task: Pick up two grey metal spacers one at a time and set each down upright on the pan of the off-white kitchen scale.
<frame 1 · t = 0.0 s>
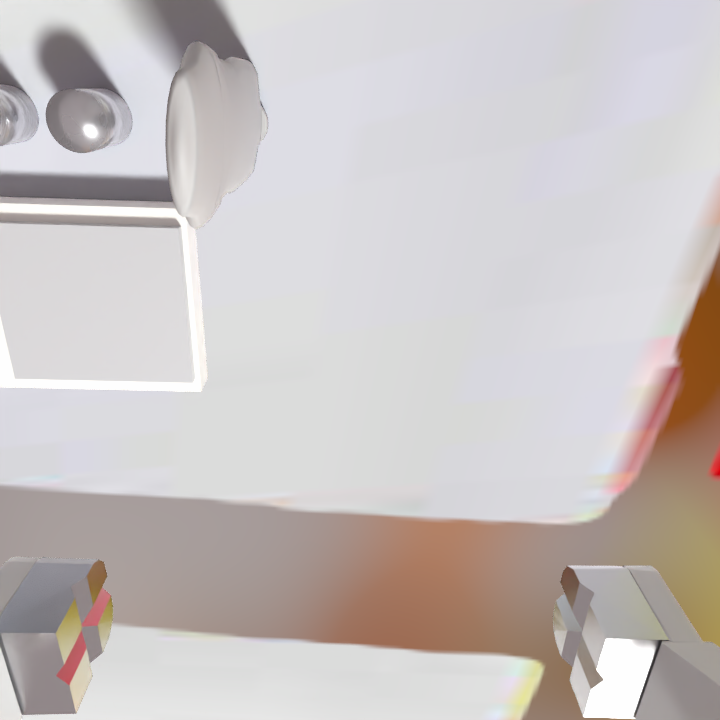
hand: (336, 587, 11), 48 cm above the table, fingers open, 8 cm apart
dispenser: (245, 122, 52), on the table
spacer b: (11, 114, 51), on the table
spacer a: (105, 117, 52), on the table
scale: (87, 293, 58), on the table
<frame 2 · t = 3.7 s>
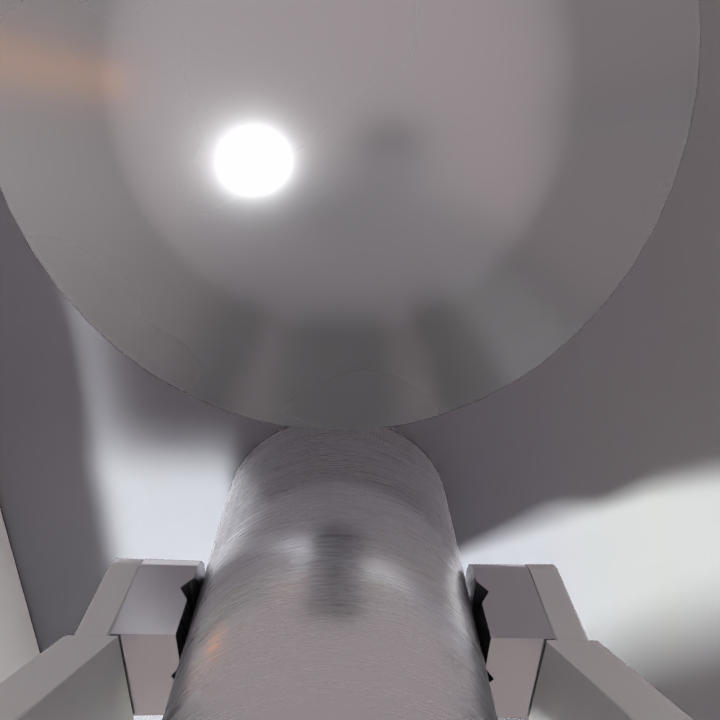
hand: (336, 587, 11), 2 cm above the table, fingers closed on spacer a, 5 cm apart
spacer b: (344, 100, 9), on the table
spacer a: (337, 511, 13), on the table, touching gripper
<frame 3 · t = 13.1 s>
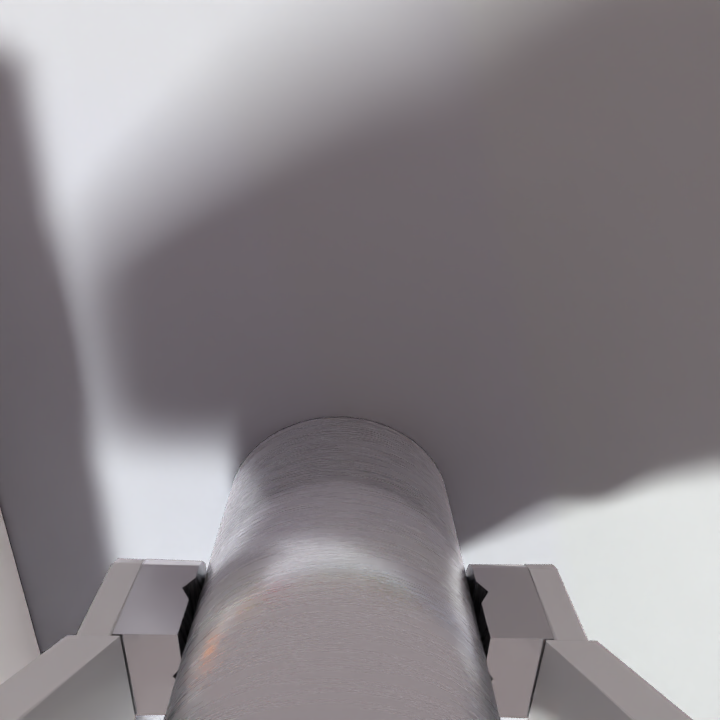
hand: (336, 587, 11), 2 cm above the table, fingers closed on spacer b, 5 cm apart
spacer b: (338, 511, 13), on the table, touching gripper
when the fingers open (7 cm above the table, at t = 17.8 s): spacer b stays where it is, resting on scale.
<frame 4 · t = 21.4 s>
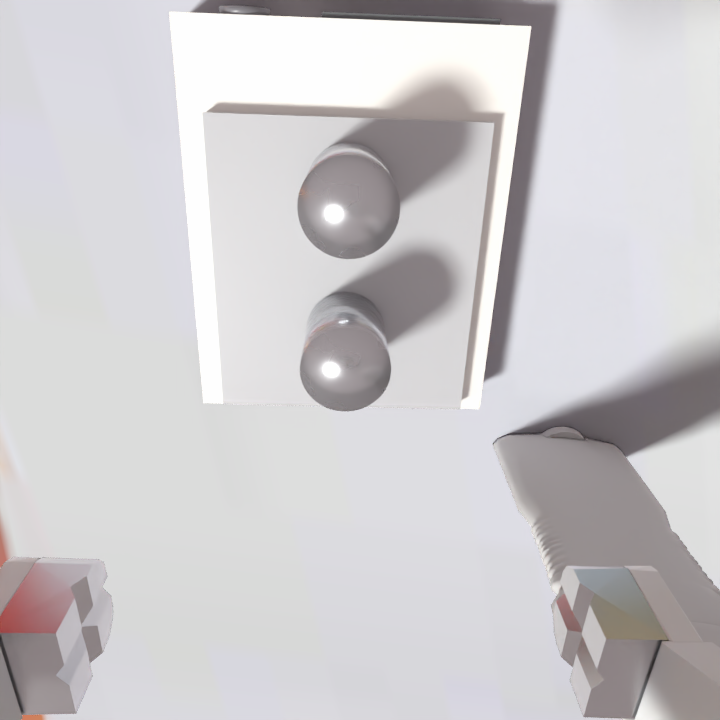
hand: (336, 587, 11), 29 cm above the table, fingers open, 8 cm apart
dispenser: (556, 448, 44), on the table
spacer b: (349, 187, 32), point 4 cm above the table, touching scale
spacer a: (345, 329, 36), point 4 cm above the table, touching scale
scale: (346, 227, 37), on the table
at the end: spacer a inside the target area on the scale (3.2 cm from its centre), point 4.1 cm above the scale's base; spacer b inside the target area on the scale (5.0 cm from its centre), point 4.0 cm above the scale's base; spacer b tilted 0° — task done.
